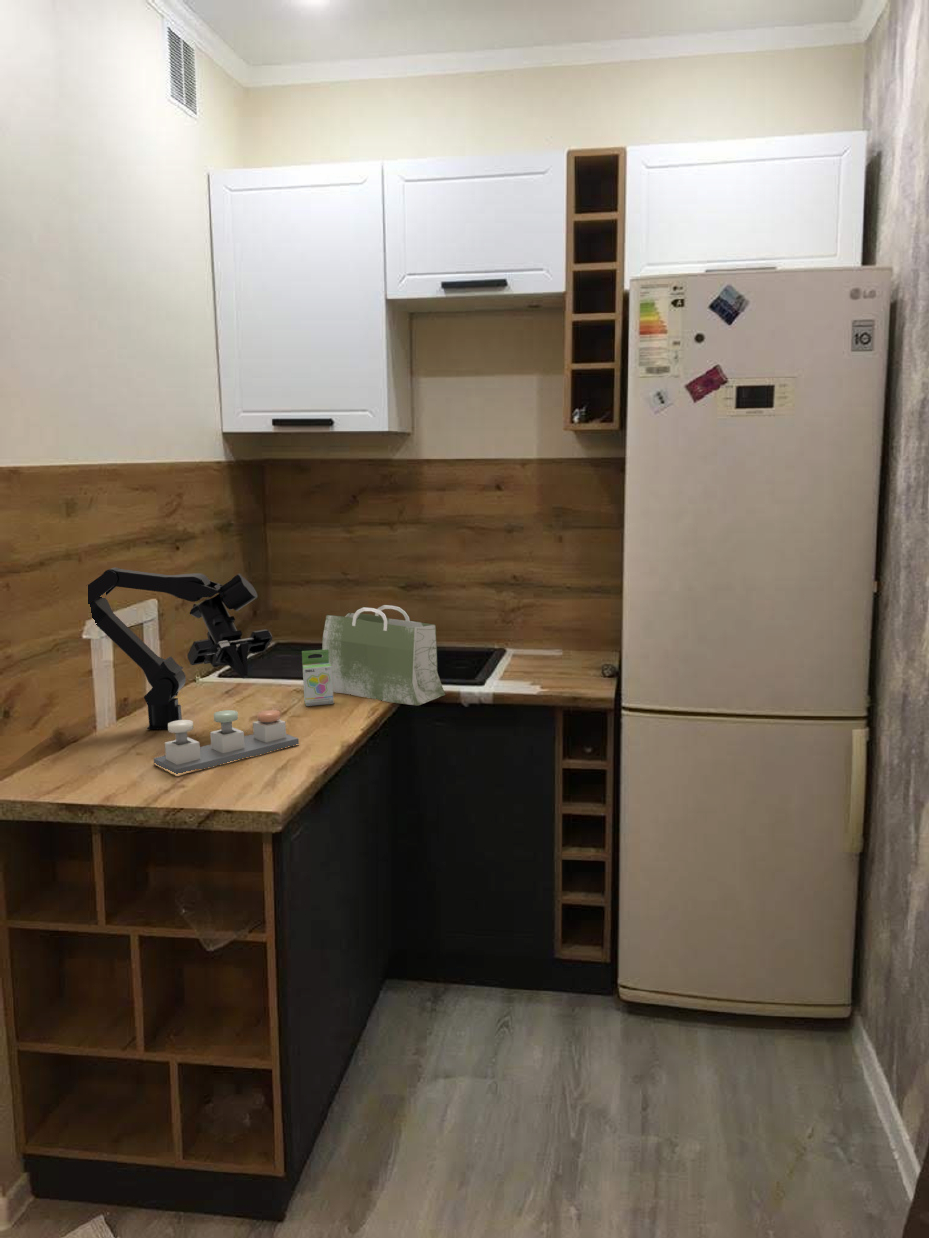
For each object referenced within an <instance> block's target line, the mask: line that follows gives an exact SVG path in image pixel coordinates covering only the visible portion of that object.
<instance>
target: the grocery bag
mask: <svg viewBox="0 0 929 1238" xmlns="http://www.w3.org/2000/svg"><path fill="white" fill-rule="evenodd" d="M383 610H394V611H397V612H399V613H400V614H402V616H403V617H404V619H405V620H403V619H394V618H388V617H387V616H386V614H385V613H384V612H383ZM363 612H372V613H374V614H368V613H363ZM321 644H322V646H321V647H322V648H321V650H326V649H329V663H330V665H331V667H332V683H333V693H339V694H346V695H350V694H351V696H356V697H360V698H361V697H362V698H365V697H367V698H366V699H371V698H372V699H371V700H376V699H378V700H377V701H381V700H382V702H386V703H387V702H388V703H394V704H403V705H408V706H409V705H410V706H421V705H423V704H426V703H428V702H431V701H434V700H436V699H439V698H441V697H443V696H446V692H445V690H444V687H443V685H442V681H441V679H440V676H439V673H438V645H437V629H436V624H431V623H425V622H421V621H420V622H419V621H412V620H410V617H409V615H408V614H407V612H406V611H405V610H404V609H402V608H401V607H399V606H396V605H390V604H389V605H387V604H383V605H381V606H379V607H377V608H374V607H361V608H359V609H357V610H356V611H355V612H349V613H347V614H346V615H345V616H343V615H341V616H340V615H326V616H325V622H324V629H323V634H322V643H321ZM322 657H323V655H321V658H322Z"/></svg>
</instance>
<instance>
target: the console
mask: <svg viewBox="0 0 929 1238" xmlns="http://www.w3.org/2000/svg"><path fill="white" fill-rule="evenodd" d="M252 730H253V733H252V734H249V735H245V732H244V731H243V730H240V729H238V728H237V727H233V726H232V733H230V734H225V735H223V734H222V732H221V729H218V730H213V731H210V744H206V745H203V746H200V741H197V740H196V739H193V738H191V737H189V736H187V742H188V743H187V744H183V745H179V746H178V745H176V739H174V740H170V741H166V742H164V751H165V755H161V756H157V757H154V758H153V764H154V763H156V764H157V765H159V766H161V767H163V768H165V769H168V770H170V771H172V772H174V773H176V774H178V773H183V772H186V771H191V770H195V769H204V768H208V767H212V768H214V767H213V766H216V765H220V764H223V763H227V762H230V761H234V760H238V759H242V758H246V757H250V756H255V757H257V756H256V755H259V756H261V755H260V754H262V755H265V754H264V753H266V754H268V753H267V752H270V751H274V750H277V749H281V748H285V747H288V746H293V745H296V744H300V743H299V741H300V739H299V737H295V736H292V735H291V734H287V731H286V730H287V729H286V721H284V720H281V719H279V720H277V721H274V723H272V724H268V725H266V724H264V722H260V721H258V720H257V721H253V722H252ZM293 747H294V746H293ZM274 752H275V751H274ZM270 753H271V752H270ZM220 766H221V765H220ZM216 767H217V766H216ZM208 769H209V768H208Z"/></svg>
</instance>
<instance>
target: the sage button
mask: <svg viewBox="0 0 929 1238" xmlns="http://www.w3.org/2000/svg"><path fill="white" fill-rule="evenodd" d="M238 716H239V714H238V711H237V710H234V709H233V710H231V709H230V710H229V709H228V710H227V709H225V710H219V711H216V712H214V713H213V721H214V722H216V723H220V730H221V732H222V734H223V735H225V734H230V733H232V727H233V722H235V721H238V720H239V717H238Z"/></svg>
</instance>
